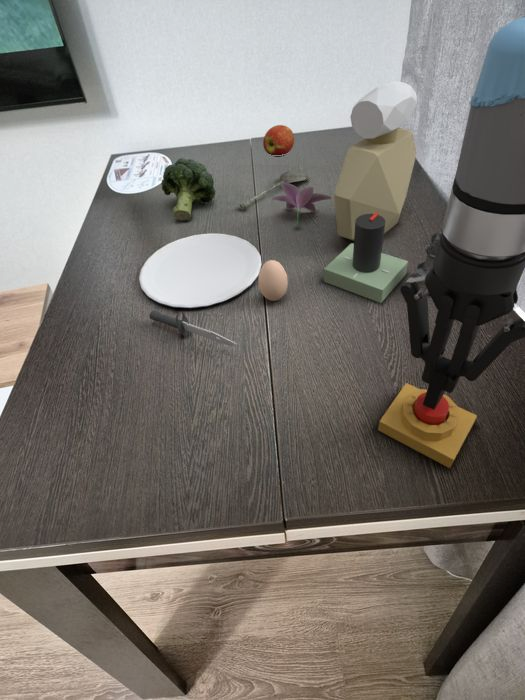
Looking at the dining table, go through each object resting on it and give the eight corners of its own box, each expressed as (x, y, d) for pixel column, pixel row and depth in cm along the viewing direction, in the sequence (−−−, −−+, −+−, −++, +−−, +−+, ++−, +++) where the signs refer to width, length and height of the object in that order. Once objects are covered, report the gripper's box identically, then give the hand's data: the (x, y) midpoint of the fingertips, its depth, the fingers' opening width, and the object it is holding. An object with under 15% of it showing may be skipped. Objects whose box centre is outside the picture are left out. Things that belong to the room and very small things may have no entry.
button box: (473, 424, 59) (481, 407, 56) (449, 468, 55) (457, 452, 52) (403, 392, 64) (408, 374, 61) (377, 430, 60) (380, 413, 57)
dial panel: (406, 274, 83) (408, 260, 81) (381, 303, 78) (382, 289, 76) (350, 255, 89) (351, 242, 86) (323, 281, 84) (323, 268, 81)
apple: (260, 157, 125) (257, 128, 119) (278, 147, 129) (276, 118, 124) (282, 163, 121) (280, 133, 116) (300, 152, 125) (299, 122, 120)
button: (451, 408, 57) (454, 400, 56) (438, 430, 55) (441, 422, 54) (421, 395, 59) (424, 387, 58) (408, 415, 57) (410, 407, 56)
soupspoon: (313, 182, 113) (294, 177, 117) (312, 169, 111) (294, 164, 115) (250, 214, 103) (232, 207, 107) (248, 200, 101) (230, 193, 105)
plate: (285, 254, 91) (285, 249, 90) (211, 328, 77) (210, 322, 76) (193, 227, 102) (192, 222, 101) (114, 287, 88) (112, 282, 87)
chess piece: (450, 294, 78) (467, 235, 69) (417, 297, 78) (429, 238, 70) (441, 274, 82) (455, 216, 73) (409, 277, 82) (420, 219, 74)
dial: (372, 275, 79) (377, 230, 72) (347, 267, 81) (350, 222, 74) (384, 261, 81) (390, 216, 74) (360, 254, 83) (364, 209, 77)
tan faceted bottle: (424, 214, 97) (453, 69, 77) (362, 266, 86) (376, 112, 66) (377, 199, 103) (392, 61, 83) (313, 246, 92) (313, 100, 72)
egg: (254, 300, 81) (249, 263, 76) (273, 286, 84) (269, 249, 78) (276, 311, 79) (272, 274, 73) (294, 296, 81) (292, 259, 75)
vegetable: (146, 214, 104) (160, 161, 108) (192, 237, 111) (203, 188, 115) (170, 193, 94) (184, 137, 98) (218, 221, 102) (230, 167, 106)
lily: (337, 225, 99) (336, 180, 96) (305, 228, 91) (304, 178, 88) (295, 227, 107) (293, 185, 104) (262, 230, 98) (260, 184, 96)
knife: (244, 350, 72) (239, 327, 68) (236, 359, 70) (230, 337, 67) (160, 320, 81) (152, 298, 77) (151, 327, 79) (142, 306, 76)
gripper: (580, 237, 37) (496, 403, 54) (432, 201, 43) (398, 360, 60) (556, 284, 33) (474, 447, 50) (397, 237, 39) (371, 396, 57)
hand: (432, 400), depth 55 cm, fingers closed
